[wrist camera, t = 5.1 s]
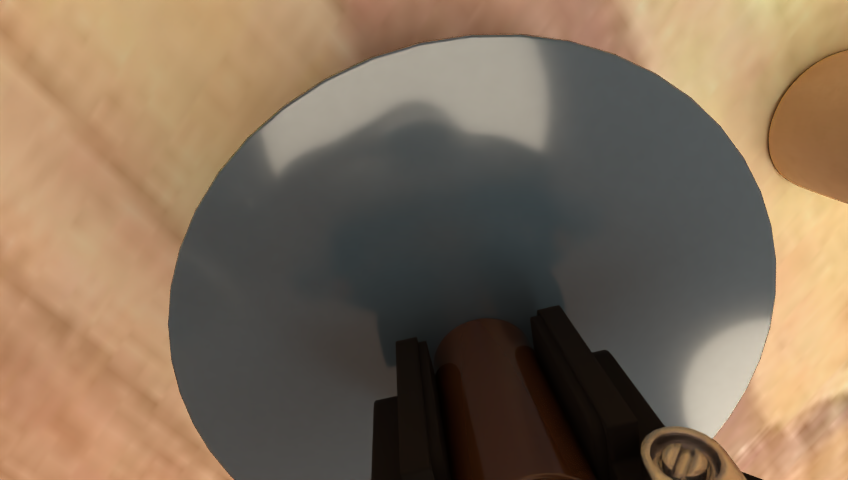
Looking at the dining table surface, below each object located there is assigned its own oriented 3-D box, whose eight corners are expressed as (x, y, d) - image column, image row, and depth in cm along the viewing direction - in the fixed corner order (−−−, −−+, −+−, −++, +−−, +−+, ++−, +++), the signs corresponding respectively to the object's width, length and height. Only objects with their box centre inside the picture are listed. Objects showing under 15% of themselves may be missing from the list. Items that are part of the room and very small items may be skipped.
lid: (153, 485, 15) (10, 753, 9) (246, -77, 9) (43, -262, 4) (597, 555, 17) (696, 791, 12) (857, 153, 12) (1251, 240, 7)
